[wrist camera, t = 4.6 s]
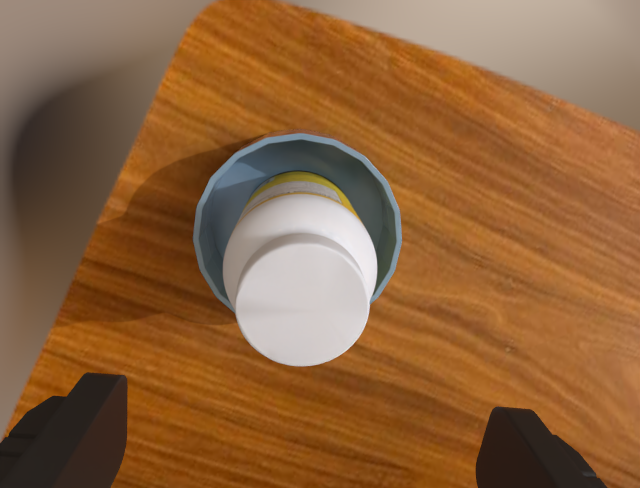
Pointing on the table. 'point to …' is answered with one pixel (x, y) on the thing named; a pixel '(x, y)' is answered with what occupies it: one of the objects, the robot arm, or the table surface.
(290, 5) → the table surface
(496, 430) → the robot arm
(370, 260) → the pill bottle
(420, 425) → the table surface
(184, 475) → the table surface
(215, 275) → the grey-blue round dish
